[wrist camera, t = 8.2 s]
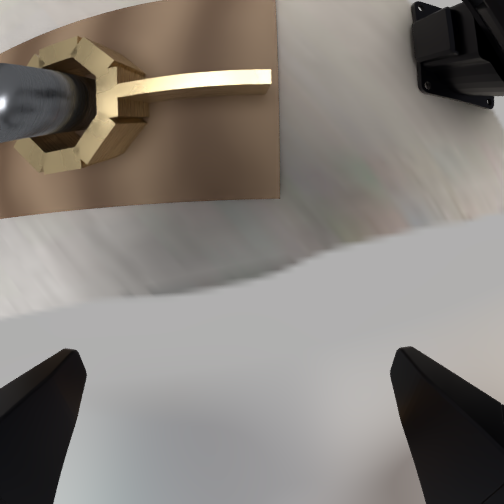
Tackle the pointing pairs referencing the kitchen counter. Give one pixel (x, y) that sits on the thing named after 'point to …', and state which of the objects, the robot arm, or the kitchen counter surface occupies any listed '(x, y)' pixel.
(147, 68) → the walnut board
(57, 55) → the brass hinge
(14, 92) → the hinge pin
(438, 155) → the kitchen counter surface
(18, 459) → the robot arm
